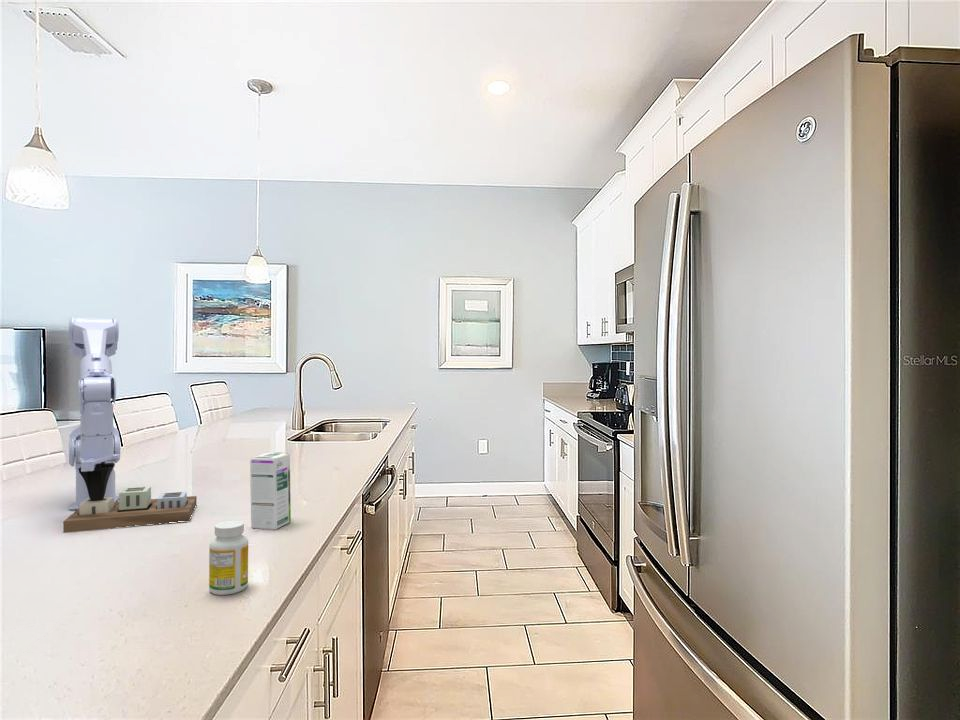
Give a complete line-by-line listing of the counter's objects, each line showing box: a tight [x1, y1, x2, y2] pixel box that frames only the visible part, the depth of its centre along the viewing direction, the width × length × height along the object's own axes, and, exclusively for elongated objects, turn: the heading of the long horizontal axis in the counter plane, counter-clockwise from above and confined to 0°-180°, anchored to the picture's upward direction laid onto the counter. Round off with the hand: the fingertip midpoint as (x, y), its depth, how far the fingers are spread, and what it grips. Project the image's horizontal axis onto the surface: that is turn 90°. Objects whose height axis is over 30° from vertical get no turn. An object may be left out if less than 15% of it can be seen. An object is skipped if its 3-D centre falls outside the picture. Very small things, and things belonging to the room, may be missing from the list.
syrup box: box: [249, 452, 292, 531], centre depth 119 cm, size 6×6×14 cm
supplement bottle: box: [208, 520, 249, 596], centre depth 87 cm, size 5×5×10 cm
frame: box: [62, 495, 197, 533], centre depth 124 cm, size 14×22×2 cm, turn 110°
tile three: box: [156, 491, 188, 509], centre depth 126 cm, size 5×5×4 cm
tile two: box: [118, 485, 152, 510], centre depth 124 cm, size 5×5×4 cm
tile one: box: [79, 497, 114, 515], centre depth 122 cm, size 5×5×4 cm
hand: (97, 499), depth 122 cm, fingers closed, pressing on tile one
